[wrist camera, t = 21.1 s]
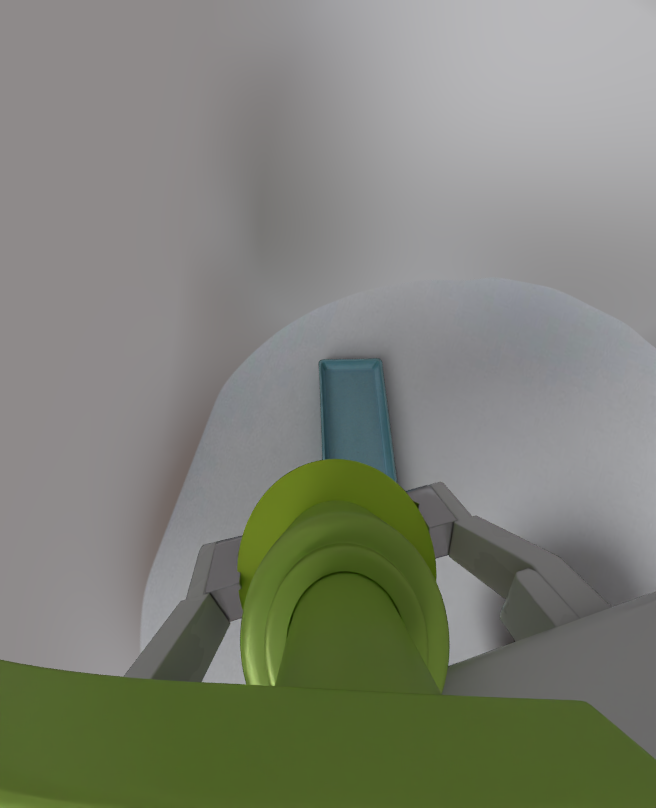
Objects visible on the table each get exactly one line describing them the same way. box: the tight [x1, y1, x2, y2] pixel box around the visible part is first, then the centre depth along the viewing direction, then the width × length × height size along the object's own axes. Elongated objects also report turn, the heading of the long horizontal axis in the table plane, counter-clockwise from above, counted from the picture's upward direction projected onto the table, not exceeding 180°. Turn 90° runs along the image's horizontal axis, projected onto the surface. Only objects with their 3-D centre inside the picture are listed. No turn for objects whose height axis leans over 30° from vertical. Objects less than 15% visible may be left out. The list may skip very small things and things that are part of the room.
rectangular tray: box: [319, 358, 397, 483], centre depth 32 cm, size 26×9×2 cm, turn 2°
